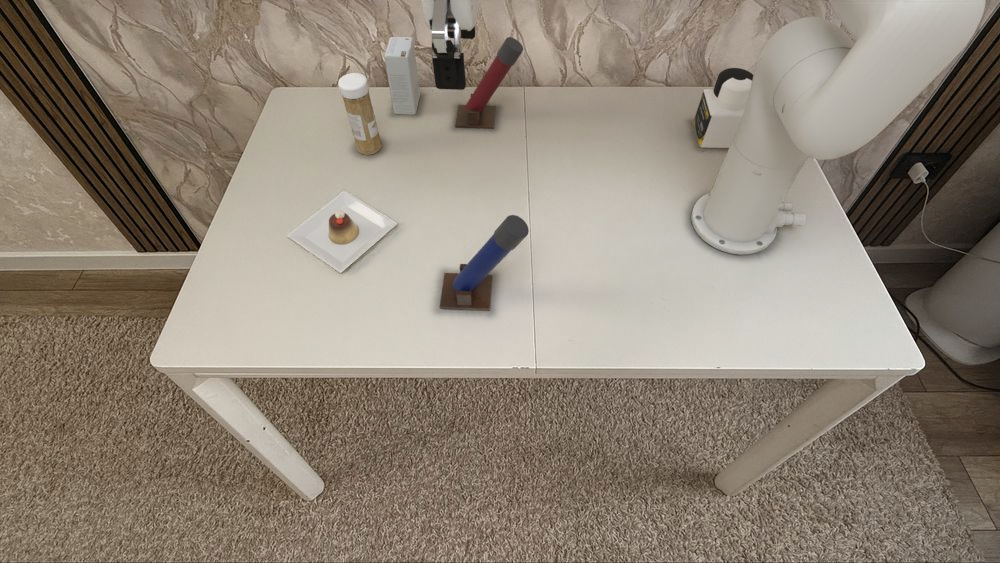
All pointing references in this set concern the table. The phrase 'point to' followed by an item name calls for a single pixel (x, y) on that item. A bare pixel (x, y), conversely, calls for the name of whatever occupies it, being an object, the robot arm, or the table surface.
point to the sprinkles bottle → (360, 112)
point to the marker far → (495, 74)
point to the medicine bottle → (722, 108)
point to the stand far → (475, 117)
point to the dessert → (342, 230)
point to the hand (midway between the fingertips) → (456, 61)
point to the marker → (492, 253)
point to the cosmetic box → (402, 75)
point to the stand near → (466, 294)
